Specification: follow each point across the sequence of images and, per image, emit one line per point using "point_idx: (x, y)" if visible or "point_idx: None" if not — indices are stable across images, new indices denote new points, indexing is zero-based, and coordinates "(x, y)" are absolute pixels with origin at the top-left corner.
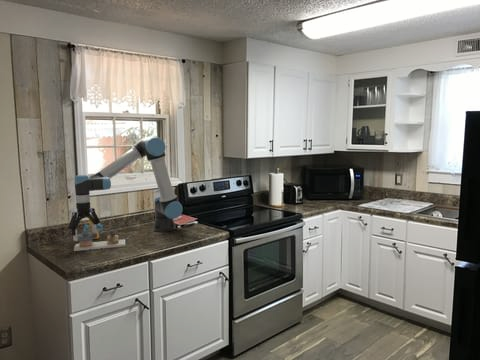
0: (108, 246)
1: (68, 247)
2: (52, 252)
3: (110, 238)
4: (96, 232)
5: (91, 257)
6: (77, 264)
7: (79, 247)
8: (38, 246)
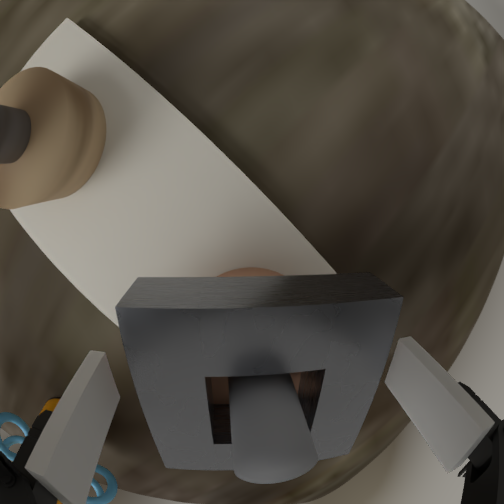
0: (153, 89)
1: None
2: None
3: (69, 94)
4: (80, 373)
5: (419, 56)
6: (495, 77)
7: None
8: (328, 487)
